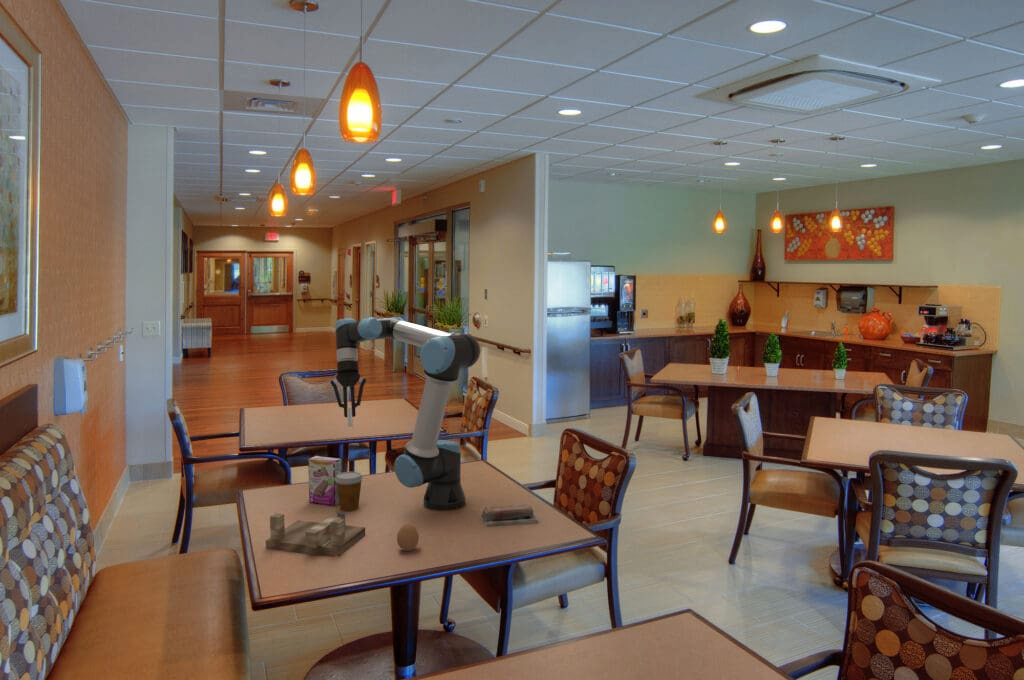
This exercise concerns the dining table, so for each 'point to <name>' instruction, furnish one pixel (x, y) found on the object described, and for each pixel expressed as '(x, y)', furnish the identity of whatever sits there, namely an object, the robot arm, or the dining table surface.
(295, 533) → the wooden block assembly
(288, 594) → the dining table surface
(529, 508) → the stapler
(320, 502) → the candy bar box
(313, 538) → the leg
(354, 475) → the disposable coffee cup
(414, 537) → the egg
